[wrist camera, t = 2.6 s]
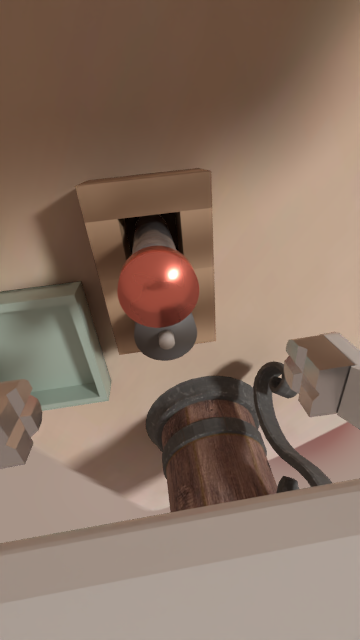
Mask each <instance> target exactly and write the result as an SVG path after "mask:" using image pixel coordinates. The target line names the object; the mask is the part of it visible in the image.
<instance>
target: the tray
mask: <svg viewBox="0 0 360 640" xmlns="http://www.w3.org/2000/svg"><path fill="white" fill-rule="evenodd" d="M19 379H25V380H28V381H29V383H30V385H31V386H32V388H33V389H32V391H31V394H30V395H32V396H34V397H35V398H37V399H38V400H39V402H40V404H41V409H42V411H44V410H51V409H57V408H64V407H71V406H77V405H84V404H90V403H97V402H103V401H109V395H110V388H111V379H110V376H109V372H108V369H107V366H106V362H105V359H104V356H103V352H102V349H101V346H100V343H99V339H98V336H97V333H96V329H95V326H94V323H93V319H92V316H91V313H90V310H89V306H88V303H87V300H86V296H85V293H84V290H83V287H82V283H81V281H79V282H72V283H64V284H56V285H48V286H41V287H33V288H25V289H17V290H10V291H2V292H0V382H3V381H11V380H19Z"/></svg>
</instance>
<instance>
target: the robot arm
mask: <svg viewBox="0 0 360 640" xmlns="http://www.w3.org/2000/svg"><path fill="white" fill-rule="evenodd" d="M286 351H287V353H288V354H289V357H288V358H287V359H286V360H285V361H284V374H285V379H286V381H287V383H288V385H289V387H290V388H291V390H293V391H295V392H296V393H298V394H299V399H298V401H299V402H300V404H301V405H302V407H303V408H304V410H305V411H306V413H307V414H308V416H309V417H314V416H322V415H329V414H336V413H338V414H337V415H338V416H340V417H341V418H343V419H344V420H346V421H347V422H349V423H351V424H352V425H354V426H355V427H357V428H358V429H360V350H359V349H357V348H356V347H355V346H354V345H353V344H352V343H350V342H349V341H348V340H347V339H346V338H345V337H343V336H342V335H341V334H340V333H337V332H331V333H326V334H320V335H317V336H310V337H304V338H297V339H291V340H289V341H288V342H287V346H286ZM32 389H33V388H32V386H31V385H30V383H29V381H28V380H25V379H19V380H11V381H3V382H0V469H2V468H7V467H13V466H18V465H23V464H25V463H26V460H27V458H28V455H29V453H30V450H31V448H32V445H33V441H32V439H31V436H33V435H34V434H35V433H36V432H37V431H38V430H39V427H40V424H41V421H42V409H41V404H40V402H39V400H38V399H37V398H35V397H34V396H32V395H30V394H31V391H32ZM0 640H360V478H359V479H353V480H348V481H342V482H337V483H331V484H326V485H320V486H315V487H309V488H303V489H298V490H292V491H287V492H281V493H276V494H270V495H265V496H259V497H254V498H248V499H242V500H237V501H231V502H226V503H220V504H215V505H209V506H204V507H198V508H193V509H187V510H182V511H176V512H170V513H165V514H159V515H154V516H149V517H143V518H137V519H132V520H127V521H121V522H116V523H110V524H104V525H99V526H93V527H88V528H83V529H77V530H71V531H66V532H61V533H54V534H49V535H44V536H38V537H33V538H27V539H21V540H16V541H11V542H5V543H0Z"/></svg>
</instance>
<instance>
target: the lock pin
mask: <svg viewBox="0 0 360 640" xmlns="http://www.w3.org/2000/svg"><path fill="white" fill-rule="evenodd" d="M117 294H118V300H119V303H120V305H121V307H122V309H123V311H124V312H125V313H126V314H127V315H128V316H129V317H130V318H131V319H132V320H134V321H135V322H137V323H139V324H141V325H144V326H147V327H153V328H162V327H168V326H172V325H175V324H177V323H179V322H181V321H182V320H184V319H185V318H186V317H187V316H188V315H189V314H190V313H191V312H192V311H193V309H194V308H195V306H196V304H197V301H198V298H199V282H198V279H197V276H196V274H195V272H194V270H193V267H192V265H191V263H190V262H189V260H188V259H187V258H186V257H185V256H184V255H183V254H181V253H180V252H179V251H177V250H176V248H175V245H174V242H173V239H172V236H171V234H170V231H169V228H168V225H167V223H166V221H165V220H164V218H163V217H161V216H160V215H158V214H155V215H147V216H141V217H140V218H139V219H138V220H137V222H136V225H135V231H134V240H133V249H132V255H131V256H130V257H129V258H128V259H127V260H126V262H125V263H124V265H123V267H122V269H121V272H120V276H119V281H118V288H117Z"/></svg>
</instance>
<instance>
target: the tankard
mask: <svg viewBox="0 0 360 640" xmlns="http://www.w3.org/2000/svg"><path fill="white" fill-rule="evenodd" d="M281 374H282V379H281V378H279V377H278V376H280V375H281ZM272 392H273V393H275V394H278V395H280V396H283V397H285V398H291V397H294V396H295V395H296V394H297V393H296V392H295V391H293V390H291V388H290V387H289V385H288V383H287V381H286V379H285V374H284V364H282V363H279V362H269V363H266V364H265V365H263V366H262V367H261V369H260V370H259V371H258V373H257V375H256V377H255V381H254V386H253V388H252V387H251V386H250V385H248V384H246V383H245V382H243V381H241V380H237V379H234V378H231V377H223V376H206V377H200V378H195V379H191V380H188V381H185V382H183V383H180V384H178V385H176V386H174V387H172V388H170V389H169V390H167V391H166V392H165V393H163V394H162V395H161V396H160V397H159V398H158V399H157V400H156V401H155V402H154V403H153V405H152V406H151V408H150V410H149V412H148V415H147V418H146V430H147V433H148V436H149V437H150V439H151V440H152V442H153V443H154V444H156V445H157V446H158V447H159V449H160V450H161V451H162V462H163V471H164V475H165V478H166V479H167V484H168V493H169V502H170V510H171V512H176V511H182V510H187V509H193V508H198V507H204V506H209V505H215V504H220V503H226V502H231V501H237V500H242V499H248V498H254V497H259V496H265V495H270V494H276V493H281V492H287V491H292V490H298V489H299V487H298V483H297V481H296V480H295V479H292V478H289V477H286V476H283V477H282V478H281V480H280V481H279V484H278V488H277V485H276V482H275V480H274V477H273V474H272V472H271V468H270V466H269V463H268V460H267V457H266V455H267V451H266V448H265V445H264V442H263V439H262V437H261V434H260V432H259V431H258V428H259V425H260V426H261V428H262V430H263V432H264V435H265V437H266V439H267V440H268V442H269V443H270V445H271V446H272V448H273V449H274V450H275V451H276V453H277V454H278V455H279V456H280V457H281V458H282V459H283V460H285V461H286V462H287V463H288V464H290V465H291V466H292V467H293V468H295V469H296V470H297V471H298V472H299V473H300V474H301V475H302V476H303V477H304V478H305V479H306V480H307V481H308V483H309V484H310V486H311V487H315V486H320V485H326V484H331V483H332V482H331V481H330V479H329V478H328V477H327V476H326V475H325V474H324V473H323V472H322V471H321V470H320V469H319V468H318V467H316V466H315V465H314V464H312V463H311V462H310V461H308V460H307V459H305V458H304V457H303V456H301V455H300V454H299V453H298V452H297V451H295V449H294V448H292V446H291V445H290V444H289V442H288V441H287V440H286V438H285V436H284V434H283V433H282V431H281V429H280V426H279V424H278V421H277V419H276V416H275V412H274V408H273V402H272Z"/></svg>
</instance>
